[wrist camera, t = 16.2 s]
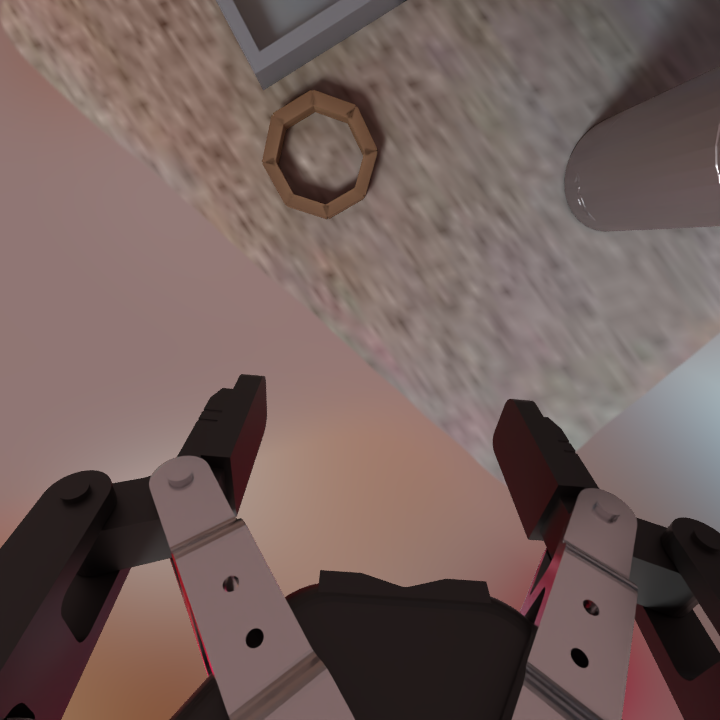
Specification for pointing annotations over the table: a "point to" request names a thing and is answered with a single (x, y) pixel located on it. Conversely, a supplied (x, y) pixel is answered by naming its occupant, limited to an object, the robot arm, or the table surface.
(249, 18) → the tray
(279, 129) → the holder ring
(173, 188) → the table surface
